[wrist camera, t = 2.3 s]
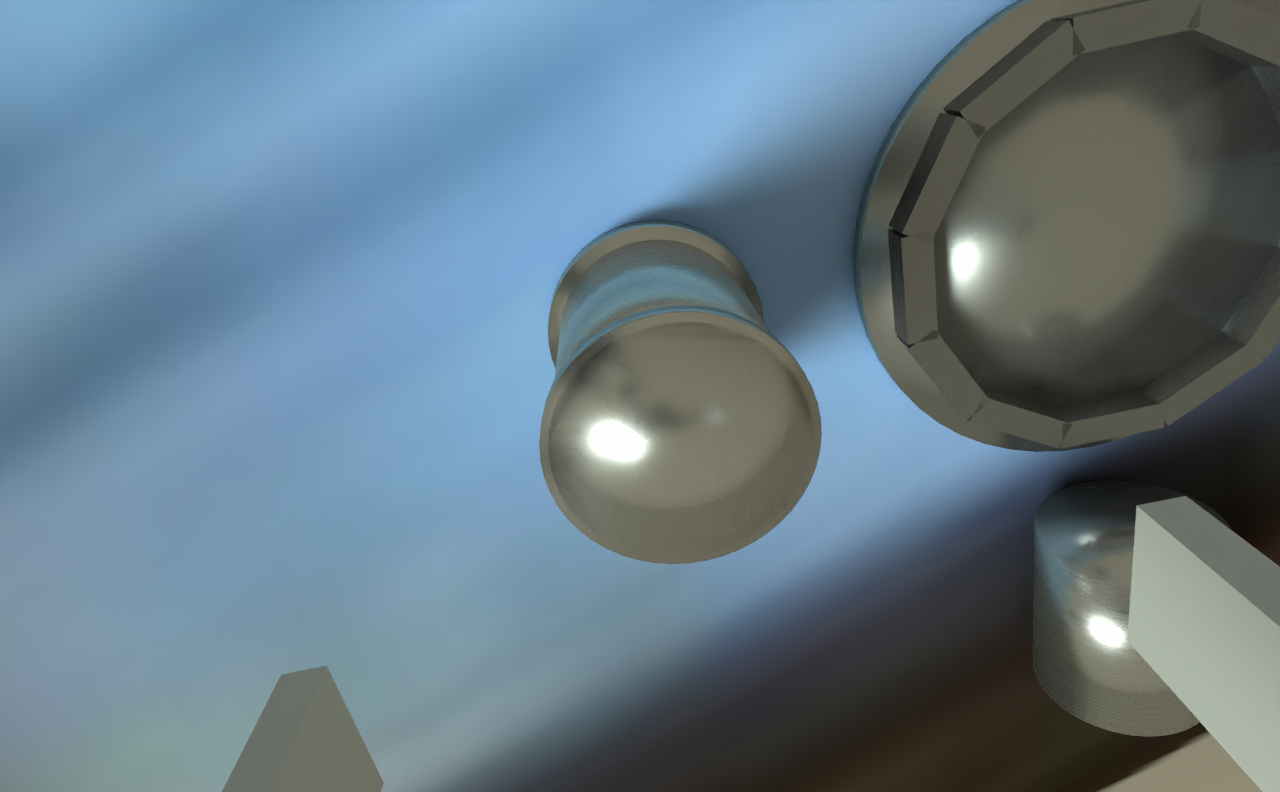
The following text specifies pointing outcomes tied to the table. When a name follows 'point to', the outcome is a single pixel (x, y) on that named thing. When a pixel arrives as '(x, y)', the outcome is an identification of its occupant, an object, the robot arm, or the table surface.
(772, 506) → the knob
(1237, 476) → the table surface
